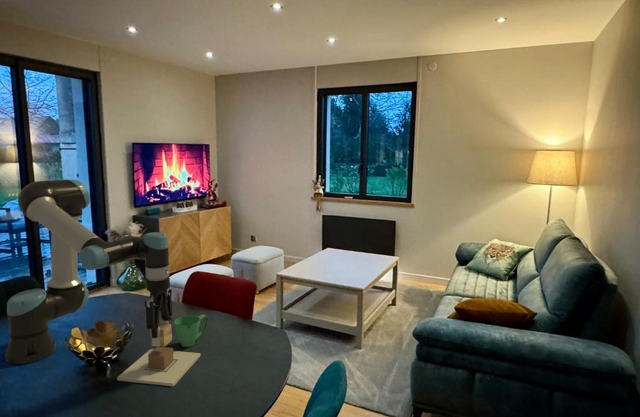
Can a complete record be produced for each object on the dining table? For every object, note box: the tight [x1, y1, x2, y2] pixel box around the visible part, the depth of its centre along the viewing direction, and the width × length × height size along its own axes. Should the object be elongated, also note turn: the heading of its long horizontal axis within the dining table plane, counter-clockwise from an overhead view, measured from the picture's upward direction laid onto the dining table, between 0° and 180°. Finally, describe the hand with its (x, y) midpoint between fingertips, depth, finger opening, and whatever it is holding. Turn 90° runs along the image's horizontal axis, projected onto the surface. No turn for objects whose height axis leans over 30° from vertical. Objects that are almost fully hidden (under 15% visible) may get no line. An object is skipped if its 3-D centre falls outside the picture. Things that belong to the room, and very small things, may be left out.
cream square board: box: [116, 346, 201, 387], centre depth 140 cm, size 20×20×6 cm
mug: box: [173, 314, 208, 348], centre depth 159 cm, size 15×10×10 cm
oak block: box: [149, 322, 173, 347], centre depth 138 cm, size 5×5×6 cm
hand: (161, 341), depth 139 cm, fingers closed on oak block, 5 cm apart
